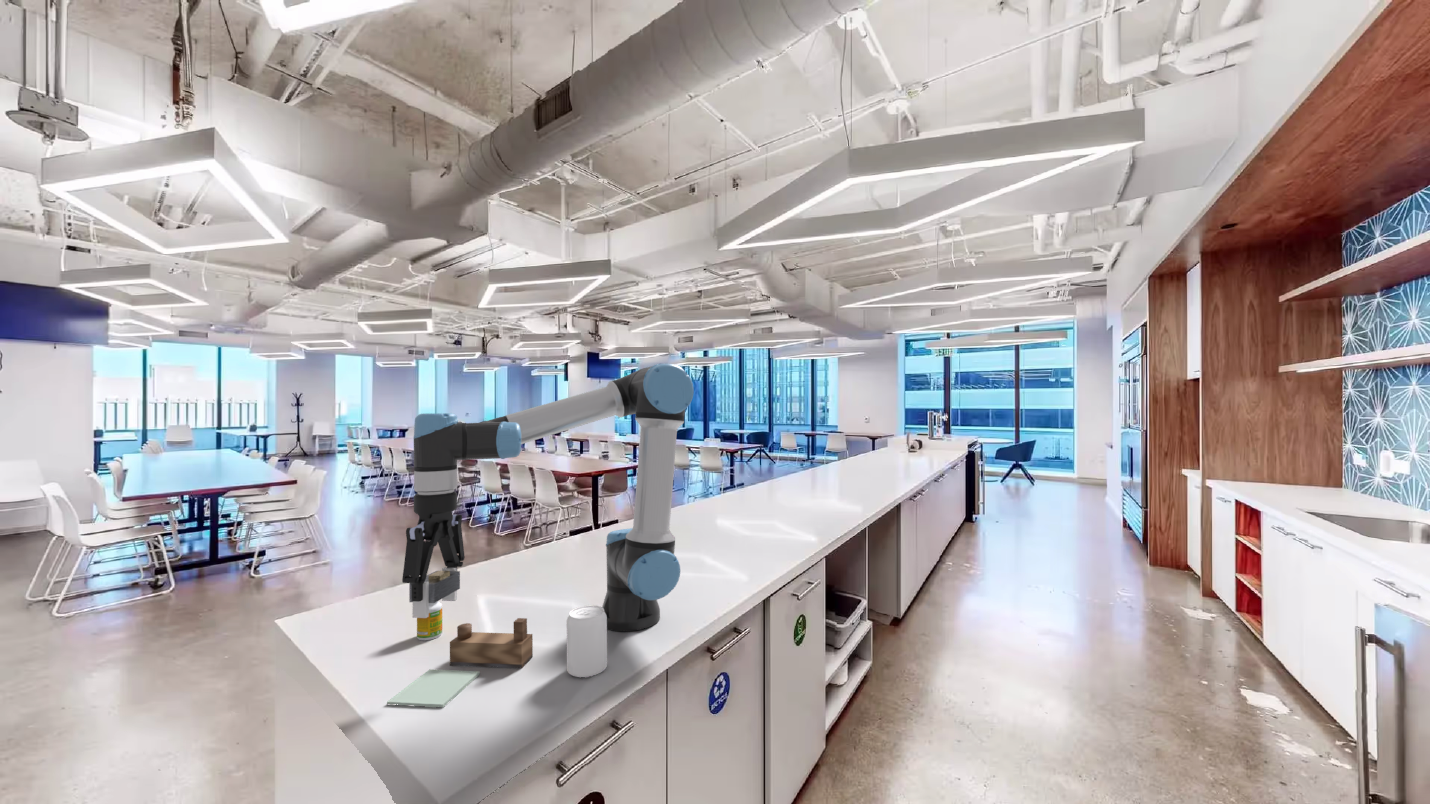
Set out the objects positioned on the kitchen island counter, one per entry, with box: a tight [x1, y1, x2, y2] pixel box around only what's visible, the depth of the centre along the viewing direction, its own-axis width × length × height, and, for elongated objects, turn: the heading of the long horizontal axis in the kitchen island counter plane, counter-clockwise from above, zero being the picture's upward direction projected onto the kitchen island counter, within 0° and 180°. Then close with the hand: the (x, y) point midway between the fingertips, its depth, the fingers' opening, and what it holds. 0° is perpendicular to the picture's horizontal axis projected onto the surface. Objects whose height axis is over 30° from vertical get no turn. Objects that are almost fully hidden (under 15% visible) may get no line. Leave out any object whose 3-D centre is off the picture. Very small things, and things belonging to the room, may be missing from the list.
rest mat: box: [386, 668, 481, 708], centre depth 101 cm, size 11×12×1 cm
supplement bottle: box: [416, 601, 443, 641], centre depth 125 cm, size 5×5×10 cm
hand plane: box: [449, 617, 534, 669], centre depth 112 cm, size 16×5×9 cm, turn 84°
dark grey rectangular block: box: [408, 570, 461, 603], centre depth 101 cm, size 5×8×4 cm, turn 174°
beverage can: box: [566, 604, 608, 678], centre depth 107 cm, size 8×8×12 cm
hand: (435, 608), depth 101 cm, fingers closed on dark grey rectangular block, 8 cm apart
